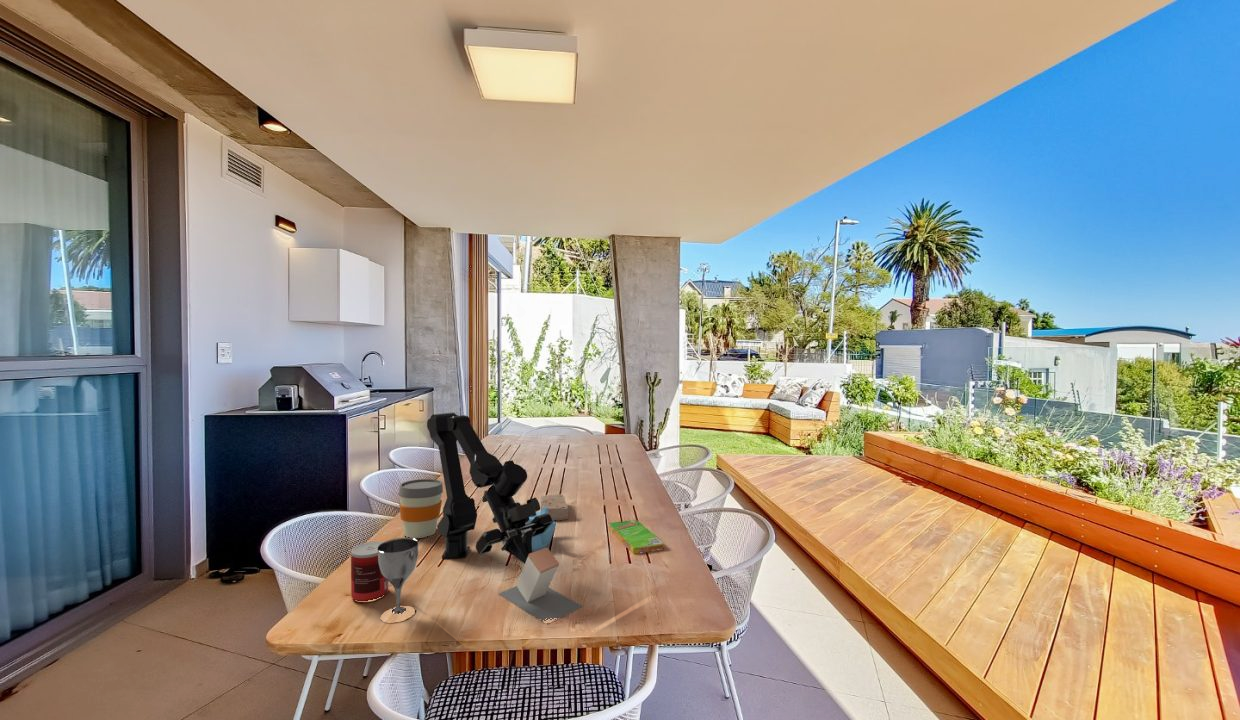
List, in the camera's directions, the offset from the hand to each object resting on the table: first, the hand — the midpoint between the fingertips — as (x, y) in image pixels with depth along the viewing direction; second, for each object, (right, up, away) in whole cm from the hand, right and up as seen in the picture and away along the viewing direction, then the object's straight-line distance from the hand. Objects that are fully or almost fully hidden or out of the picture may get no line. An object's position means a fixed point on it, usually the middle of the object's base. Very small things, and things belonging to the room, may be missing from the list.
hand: (531, 565), depth 112 cm
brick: (-3, -6, +57) cm, 58 cm away
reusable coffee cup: (-41, -6, +37) cm, 56 cm away
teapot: (-7, -7, +30) cm, 31 cm away
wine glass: (-27, -8, -7) cm, 29 cm away
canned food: (-37, -7, +1) cm, 38 cm away
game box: (+25, -7, +36) cm, 44 cm away
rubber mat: (+2, -7, -2) cm, 8 cm away
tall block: (0, -6, 0) cm, 6 cm away
